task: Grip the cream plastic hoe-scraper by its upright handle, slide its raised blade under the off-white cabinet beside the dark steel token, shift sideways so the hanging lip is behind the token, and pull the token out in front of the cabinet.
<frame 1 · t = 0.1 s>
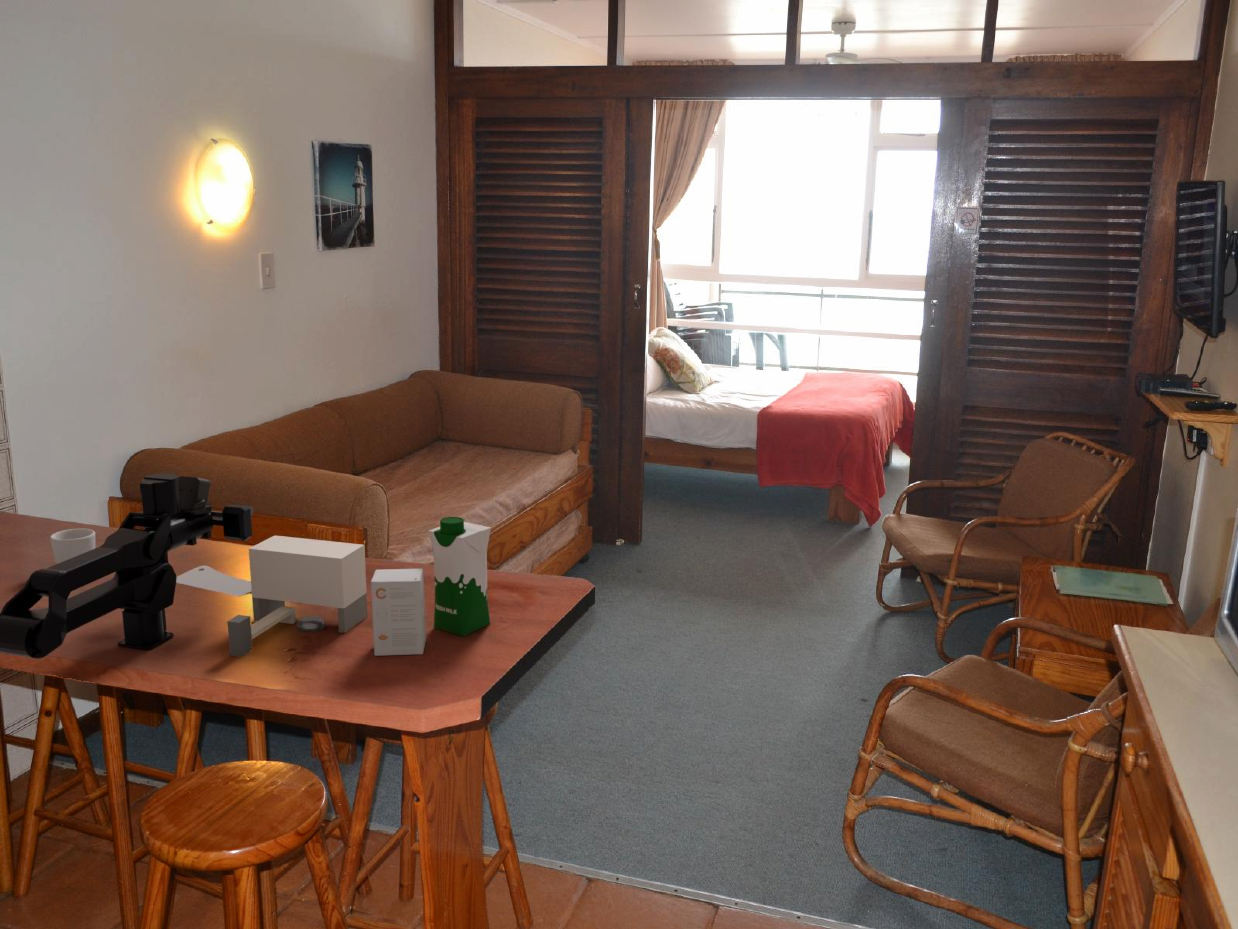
hand: (231, 507, 199), 17 cm above the table, tool horizontal, fingers open, 9 cm apart
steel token: (310, 628, 186), on the table
kitchen cleaver: (238, 593, 203), on the table
scraper: (241, 653, 175), on the table
small box: (400, 649, 178), on the table
milk carton: (462, 626, 187), on the table
cup: (77, 571, 213), on the table
cabinet: (311, 618, 189), on the table
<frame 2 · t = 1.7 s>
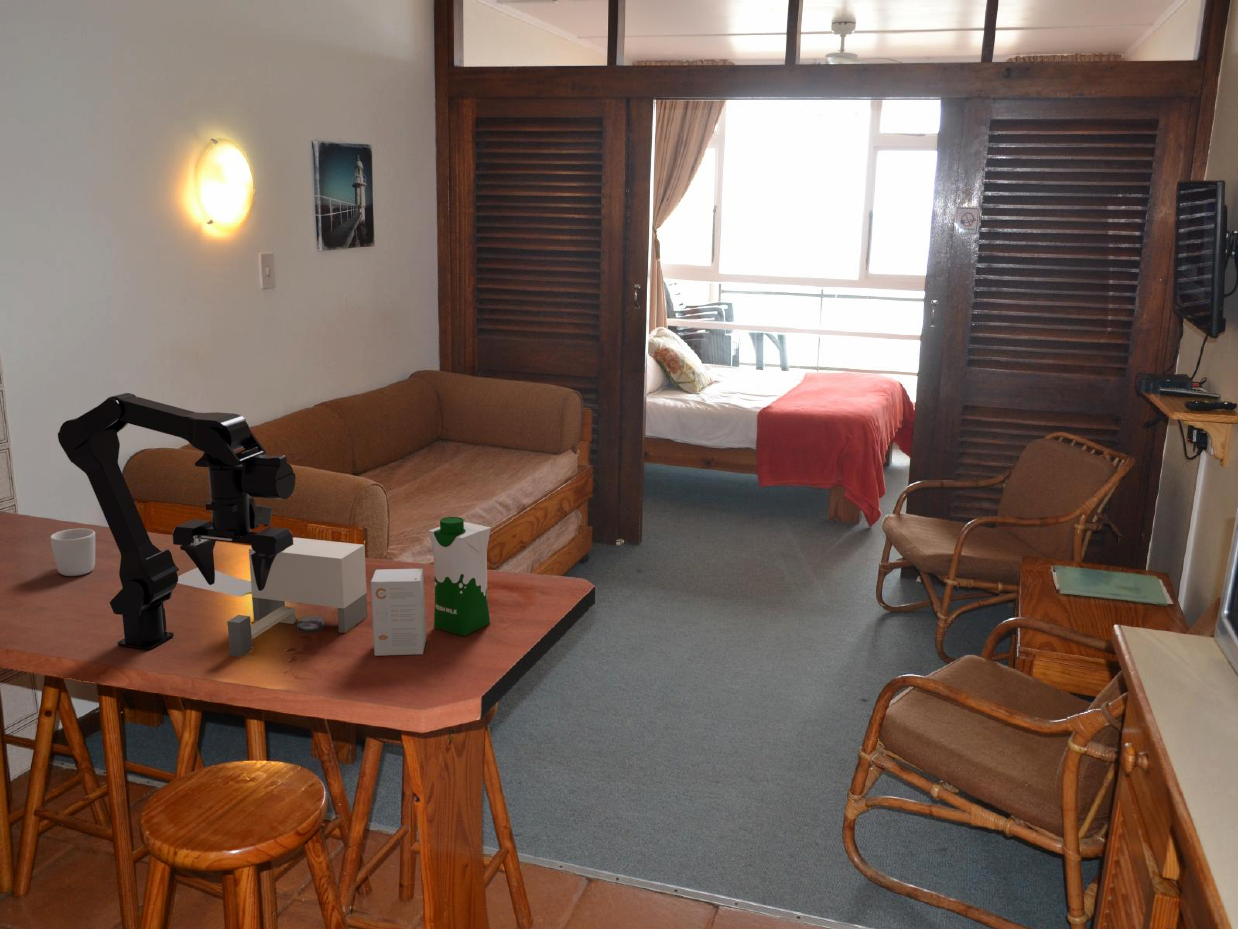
hand: (236, 587, 172), 11 cm above the table, tool pointing down, fingers open, 9 cm apart
nothing on the table moved.
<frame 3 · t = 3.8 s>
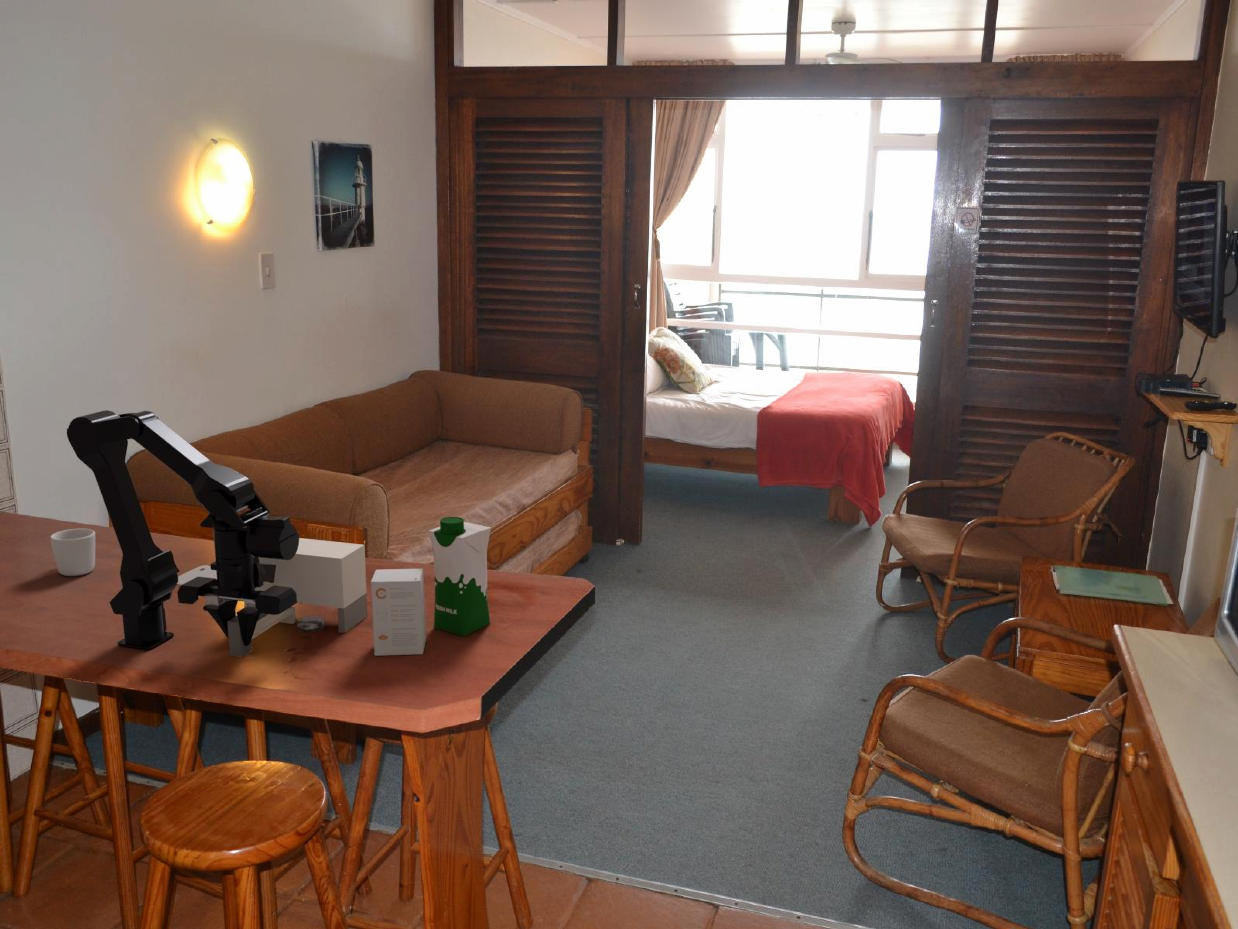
hand: (240, 644, 174), 2 cm above the table, tool pointing down, fingers closed on scraper, 2 cm apart
scraper: (241, 652, 175), on the table, touching gripper
everything else where it was.
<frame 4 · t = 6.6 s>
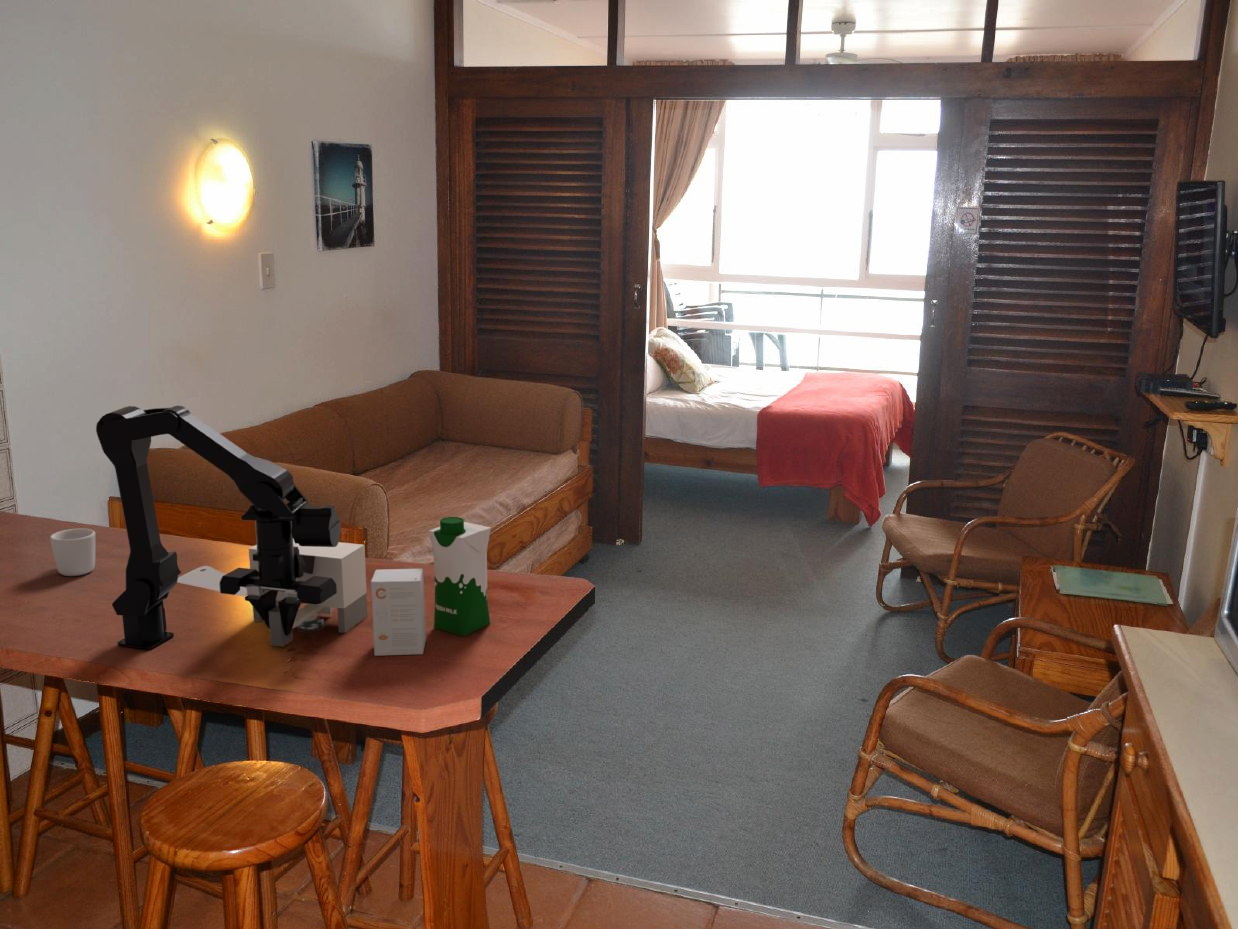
hand: (281, 634, 177), 2 cm above the table, tool pointing down, fingers closed on scraper, 2 cm apart
scraper: (281, 642, 178), point 1 cm above the table, touching gripper
everything else where it was.
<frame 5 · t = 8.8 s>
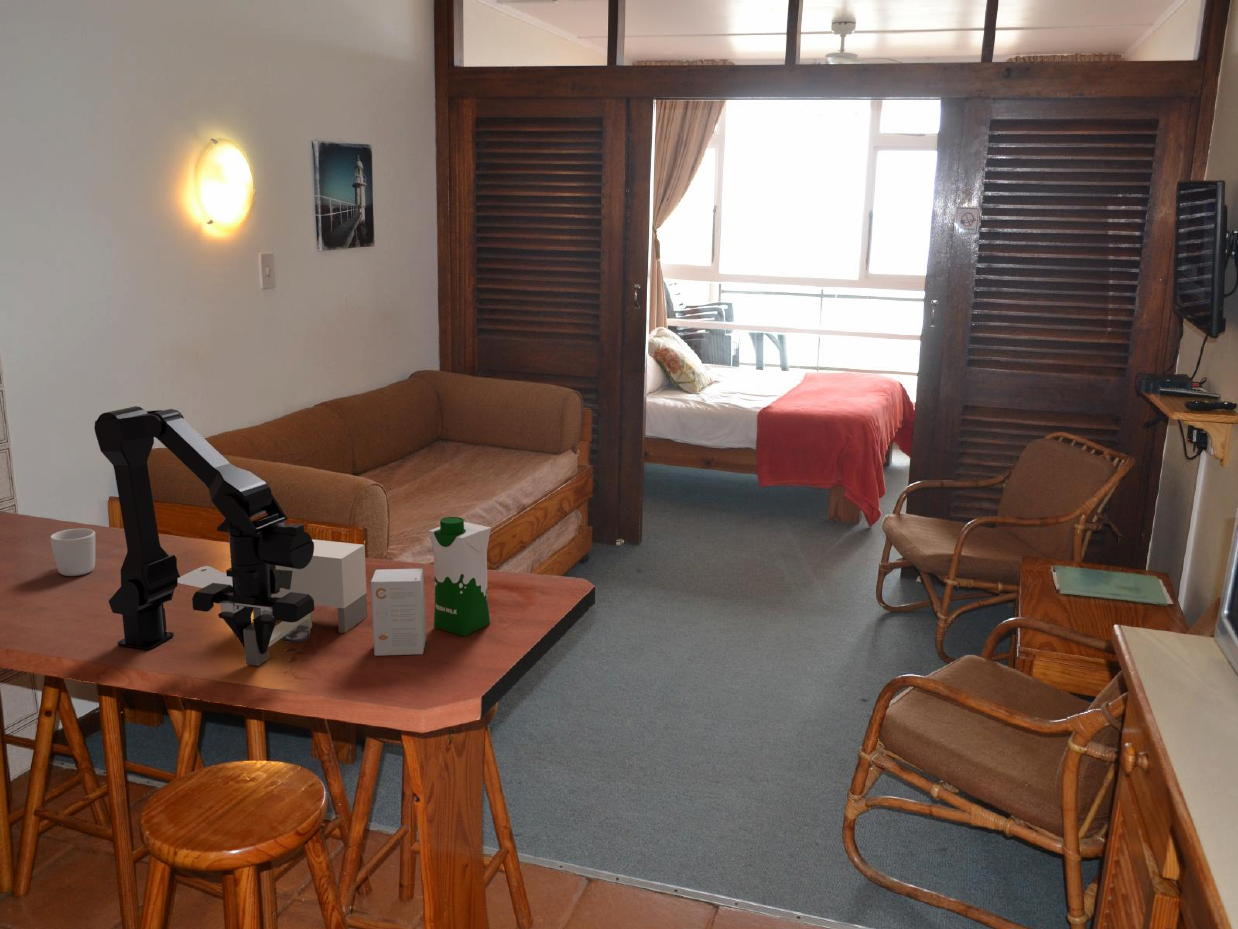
hand: (256, 652, 170), 2 cm above the table, tool pointing down, fingers closed on scraper, 2 cm apart
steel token: (296, 638, 181), on the table
scraper: (257, 661, 171), on the table, touching gripper
everything else where it was.
when the fingers open (2 cm above the table, at t = 9.4 s): scraper stays where it is, on the table.
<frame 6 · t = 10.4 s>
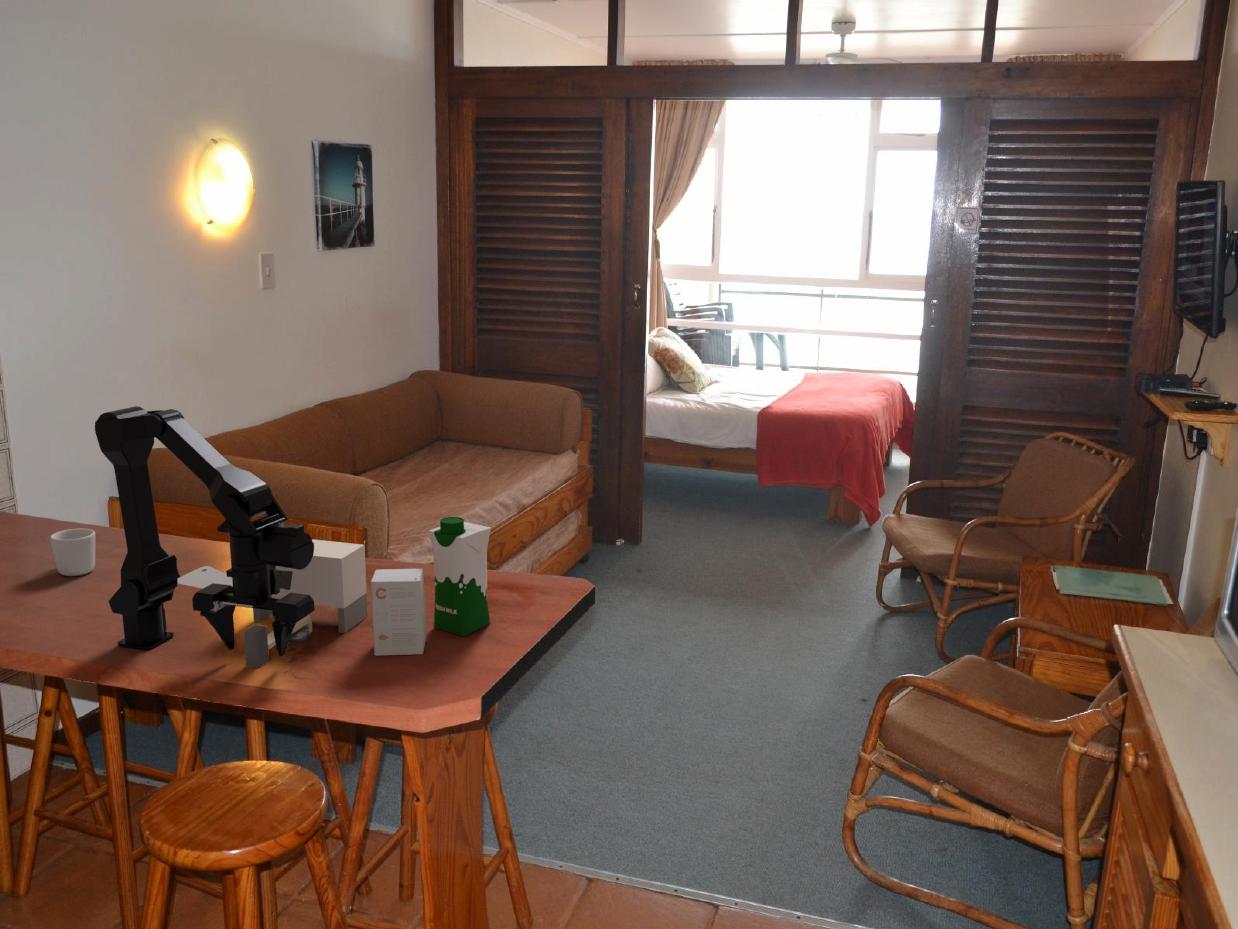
hand: (256, 652, 170), 2 cm above the table, tool pointing down, fingers open, 9 cm apart
scraper: (257, 663, 171), on the table
everything else where it was.
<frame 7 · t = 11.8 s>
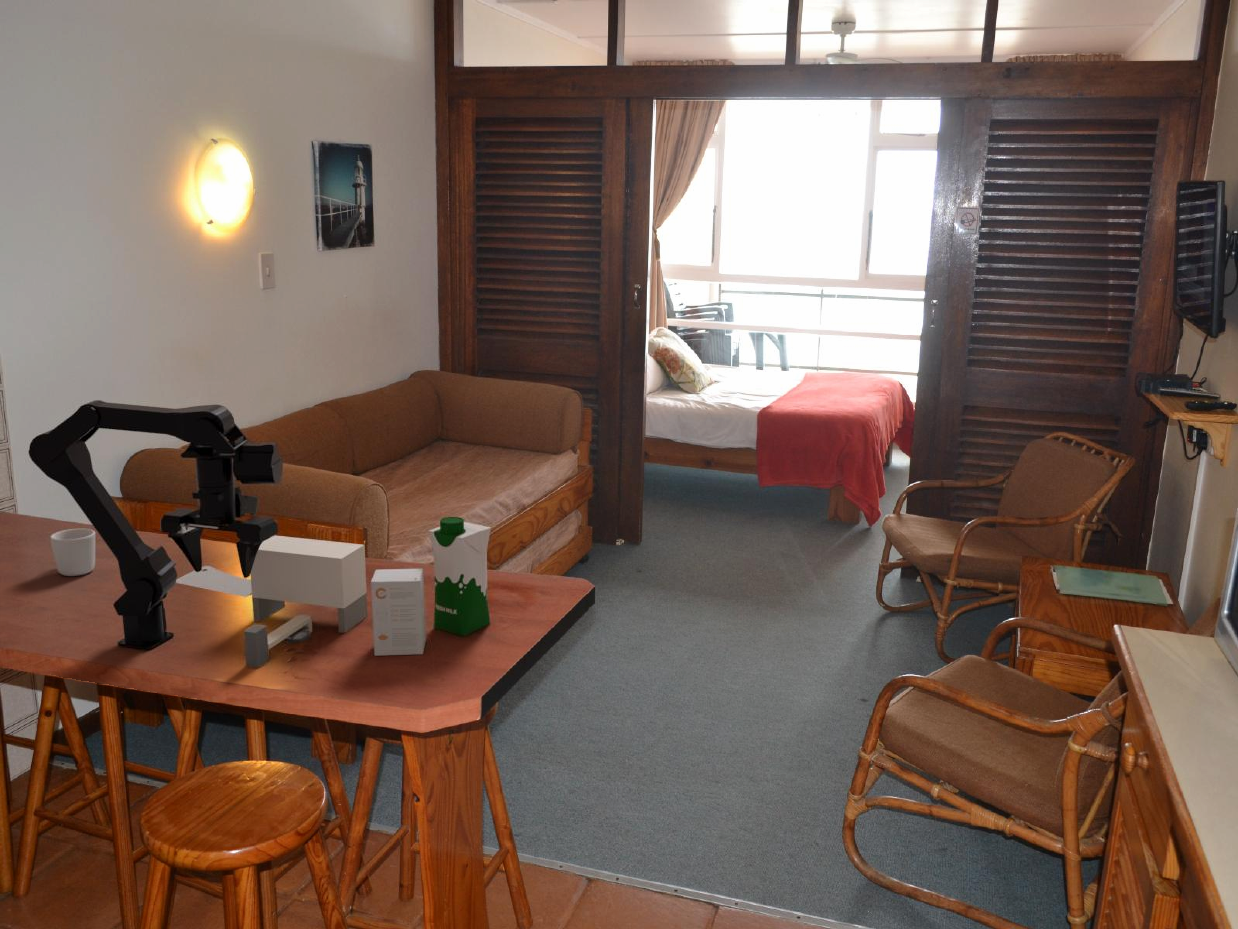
hand: (222, 574, 176), 12 cm above the table, tool pointing down, fingers open, 9 cm apart
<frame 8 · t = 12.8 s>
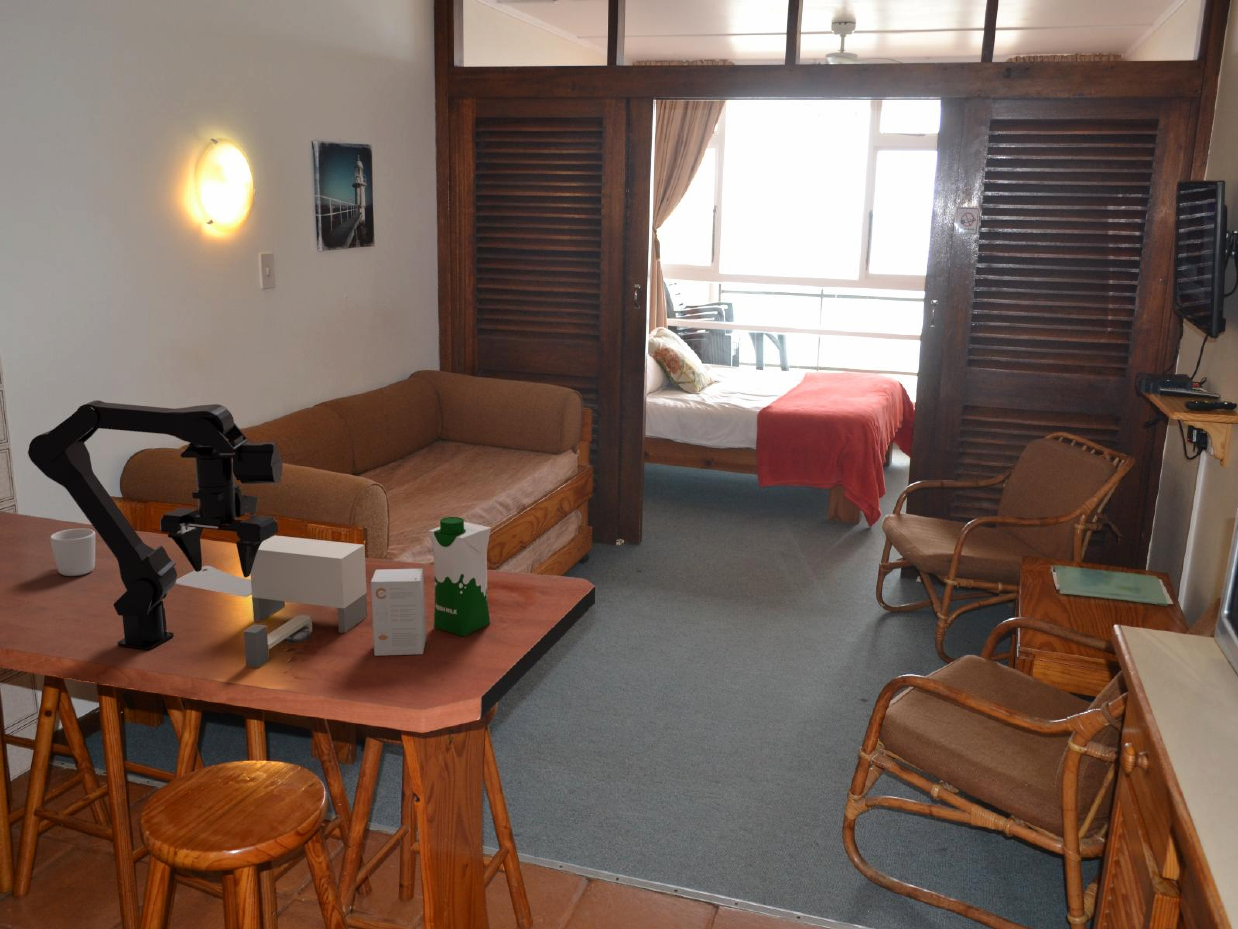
hand: (222, 573, 176), 12 cm above the table, tool pointing down, fingers open, 9 cm apart
at the end: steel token inside the target area (5.5 cm from its centre), on the table; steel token tilted 0°; the gripper is holding nothing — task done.
